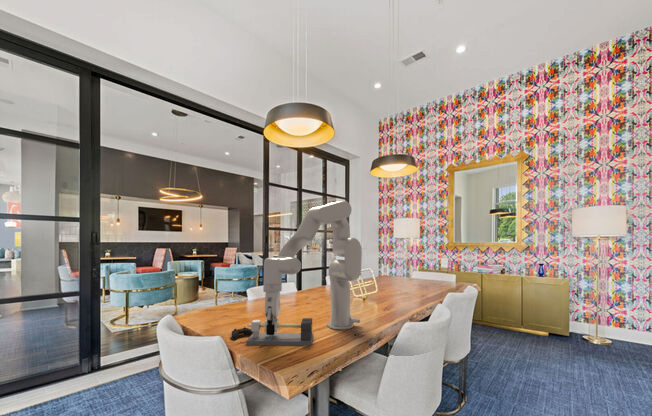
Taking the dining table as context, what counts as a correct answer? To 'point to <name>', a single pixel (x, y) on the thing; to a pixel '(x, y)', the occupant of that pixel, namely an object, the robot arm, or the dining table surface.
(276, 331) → the sleeve
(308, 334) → the board
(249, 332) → the game controller
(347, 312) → the robot arm
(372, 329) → the dining table surface
